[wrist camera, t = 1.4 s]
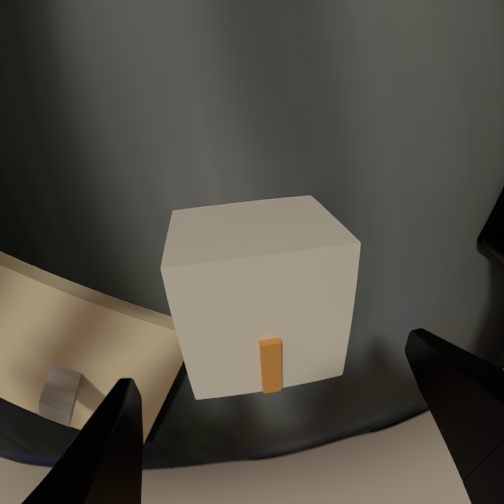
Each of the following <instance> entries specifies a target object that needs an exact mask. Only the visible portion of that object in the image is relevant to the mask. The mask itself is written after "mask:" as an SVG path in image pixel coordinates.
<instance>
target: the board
mask: <svg viewBox="0 0 504 504" xmlns="http://www.w3.org/2000/svg"><path fill="white" fill-rule="evenodd" d="M183 361H184V359H183V356H182V352H181V348H180V345H179V341H178V338H177V334H176V330H175V326H174V322H173V318H172V317H171V316H168V315H165V314H162V313H159V312H155V311H152V310H149V309H146V308H143V307H140V306H137V305H135V304H132V303H129V302H126V301H123V300H120V299H117V298H114V297H112V296H109V295H106V294H103V293H101V292H98V291H95V290H92V289H90V288H87V287H84V286H82V285H79V284H77V283H74V282H72V281H69V280H66V279H64V278H61V277H59V276H56V275H54V274H51V273H49V272H47V271H44V270H42V269H39V268H37V267H35V266H32V265H30V264H28V263H25V262H23V261H21V260H18V259H16V258H14V257H12V256H9V255H7V254H5V253H3V252H1V251H0V397H1V398H3V399H5V400H7V401H9V402H11V403H13V404H16V405H18V406H20V407H22V408H25V409H27V410H29V411H32V412H34V413H37V414H39V416H42V417H44V418H47V419H50V420H52V421H55V422H58V423H60V424H63V425H66V426H69V427H70V426H71V427H74V428H77V429H80V430H81V429H82V427H83V426H84V425H85V423H86V422H87V421H88V419H89V418H90V417H91V415H92V414H93V413H94V411H95V410H96V409H97V407H98V406H99V405H100V403H101V402H102V401H103V399H104V398H105V397H106V395H107V394H108V393H109V391H110V390H111V389H112V388H113V386H114V385H115V384H116V382H117V381H118V380H119V379H120V378H132V379H133V380H134V381H135V383H136V386H137V388H138V390H139V392H140V394H141V398H142V418H143V440H144V442H145V440H146V438H147V436H148V434H149V432H150V430H151V427H152V425H153V423H154V421H155V419H156V417H157V415H158V413H159V411H160V409H161V407H162V404H163V402H164V400H165V398H166V396H167V394H168V392H169V390H170V388H171V386H172V384H173V382H174V380H175V378H176V376H177V373H178V371H179V369H180V367H181V365H182V363H183Z"/></svg>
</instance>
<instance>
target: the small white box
mask: <svg viewBox="0 0 504 504" xmlns="http://www.w3.org/2000/svg"><path fill="white" fill-rule="evenodd" d="M360 246H361V242H360V241H359V240H358V239H356V238H355V237H354V236H353V235H352V234H351V233H350V232H349V231H348V230H347V229H346V228H345V227H344V226H343V225H342V224H341V223H340V222H339V221H338V220H337V219H336V218H335V217H334V216H333V215H332V214H330V213H329V212H328V211H327V210H326V209H325V208H324V207H323V206H322V205H321V204H320V203H319V202H318V201H317V200H315V199H314V198H313V197H312V196H311V195H309V196H297V197H286V198H276V199H266V200H256V201H247V202H238V203H229V204H221V205H212V206H204V207H196V208H188V209H181V210H173V211H172V216H171V220H170V225H169V229H168V234H167V239H166V244H165V248H164V253H163V258H162V263H161V273H162V277H163V281H164V286H165V290H166V294H167V298H168V302H169V307H170V311H171V315H172V318H173V322H174V326H175V330H176V334H177V338H178V341H179V345H180V348H181V352H182V356H183V359H184V363H185V366H186V370H187V373H188V376H189V380H190V383H191V386H192V389H193V393H194V396H195V399H196V400H198V399H208V398H217V397H225V396H233V395H240V394H247V393H254V392H260V391H263V394H265V393H271V392H277V391H281V388H283V387H289V386H294V385H299V384H304V383H309V382H314V381H318V380H323V379H327V378H332V377H336V376H340V375H342V374H343V369H344V364H345V358H346V352H347V347H348V341H349V334H350V328H351V321H352V314H353V307H354V300H355V292H356V284H357V275H358V266H359V257H360Z"/></svg>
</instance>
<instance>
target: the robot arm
mask: <svg viewBox="0 0 504 504" xmlns="http://www.w3.org/2000/svg"><path fill="white" fill-rule="evenodd" d="M479 244H480V245H481V246H482V247H483V248H485V249H486V250H487V251H488V252H489V253H490V254H492V255H493V256H494V257H495V258H496V259H497V260H498V261H500V262H501V263H502V264H503V265H504V190H503V192H502V194H501V196H500V198H499V200H498V202H497V204H496V206H495V208H494V210H493V212H492V214H491V216H490V218H489V220H488V222H487V224H486V225H485V227H484V229H483V231H482V233H481V235H480V237H479ZM405 354H406V357H407V359H408V362H409V364H410V367H411V369H412V372H413V374H414V377H415V380H416V382H417V385H418V387H419V390H420V392H421V394H422V396H423V398H424V400H425V402H426V404H427V406H428V408H429V410H430V412H431V414H432V415H433V418H434V420H435V422H436V424H437V426H438V428H439V430H440V432H441V434H442V436H443V439H444V441H445V443H446V445H447V447H448V449H449V451H450V454H451V456H452V458H453V460H454V463H455V465H456V467H457V469H458V471H459V474H460V476H461V479H462V480H463V484H464V486H465V489H466V491H467V493H468V496H469V499H470V501H471V504H504V370H502V369H501V370H500V368H498V367H496V366H494V365H492V364H490V363H489V362H487V361H485V360H483V359H481V358H479V357H477V356H475V355H473V354H471V353H469V352H467V351H465V350H463V349H461V348H460V347H458V346H456V345H454V344H452V343H450V342H448V341H446V340H444V339H442V338H440V337H438V336H436V335H434V334H432V333H430V332H428V331H426V330H425V329H422V328H418V329H415V330H412V331H411V332H410V333H409V336H408V340H407V343H406V346H405ZM143 444H144V440H143V418H142V398H141V394H140V392H139V390H138V388H137V386H136V383H135V381H134V380H133V379H132V378H120V379H119V380H118V381H117V382H116V384H115V385H114V386H113V388H112V389H111V390H110V391H109V393H108V394H107V395H106V397H105V398H104V399H103V401H102V402H101V403H100V405H99V406H98V407H97V409H96V410H95V411H94V413H93V414H92V415H91V417H90V418H89V419H88V421H87V422H86V423H85V425H84V426H83V427H82V429H81V430H80V431H79V433H78V434H77V436H76V437H75V438H74V440H73V441H72V442H71V444H70V445H69V446H68V448H67V449H66V450H65V452H64V453H63V456H61V457H60V459H59V460H58V461H57V463H56V464H55V465H54V467H53V468H52V469H51V471H50V472H49V473H48V474H47V476H46V477H45V478H44V479H43V480H42V481H41V483H40V484H39V485H38V486H37V487H36V488H35V489H34V491H33V492H32V493H31V494H30V495H29V496H28V497H27V498H26V499H25V500H24V501H23V502H22V504H141V485H142V463H143Z"/></svg>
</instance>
